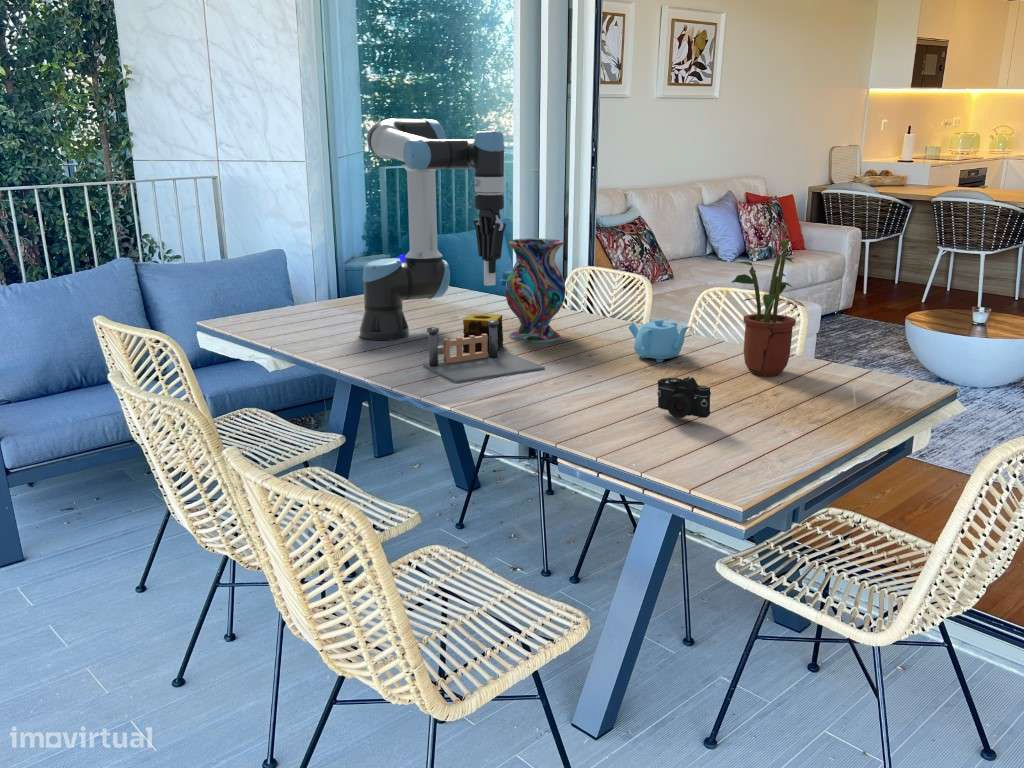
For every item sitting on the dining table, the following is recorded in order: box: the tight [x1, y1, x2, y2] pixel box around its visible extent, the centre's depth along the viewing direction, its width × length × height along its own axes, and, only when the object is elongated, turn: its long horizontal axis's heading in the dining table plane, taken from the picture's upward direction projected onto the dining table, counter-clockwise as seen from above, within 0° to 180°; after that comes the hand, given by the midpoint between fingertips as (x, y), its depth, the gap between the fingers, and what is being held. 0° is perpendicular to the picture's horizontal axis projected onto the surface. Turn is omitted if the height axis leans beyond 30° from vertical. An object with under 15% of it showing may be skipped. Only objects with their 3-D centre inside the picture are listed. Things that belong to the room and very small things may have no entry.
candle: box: [462, 313, 504, 355], centre depth 253 cm, size 10×10×10 cm
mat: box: [422, 352, 546, 384], centre depth 234 cm, size 19×27×1 cm
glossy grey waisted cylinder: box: [487, 320, 499, 358], centre depth 242 cm, size 3×3×11 cm
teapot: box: [627, 318, 690, 363], centre depth 243 cm, size 15×14×11 cm
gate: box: [442, 334, 489, 363], centre depth 238 cm, size 13×2×6 cm, turn 122°
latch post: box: [426, 326, 444, 367], centre depth 234 cm, size 5×6×11 cm
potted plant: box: [730, 240, 797, 377], centre depth 224 cm, size 17×16×35 cm
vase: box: [504, 237, 566, 344], centre depth 264 cm, size 18×18×30 cm
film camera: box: [656, 375, 712, 419], centre depth 193 cm, size 13×8×10 cm, turn 54°
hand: (489, 284), depth 229 cm, fingers closed
